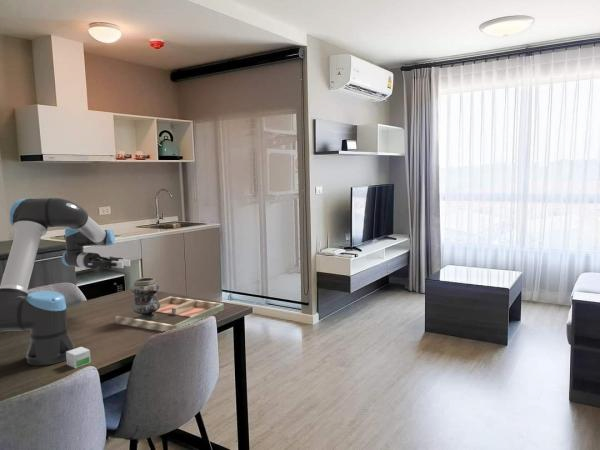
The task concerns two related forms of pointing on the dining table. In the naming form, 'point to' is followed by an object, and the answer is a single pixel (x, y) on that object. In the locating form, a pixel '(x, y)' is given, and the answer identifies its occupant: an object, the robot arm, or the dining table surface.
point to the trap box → (176, 313)
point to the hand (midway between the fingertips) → (126, 264)
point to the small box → (78, 357)
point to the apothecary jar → (145, 298)
